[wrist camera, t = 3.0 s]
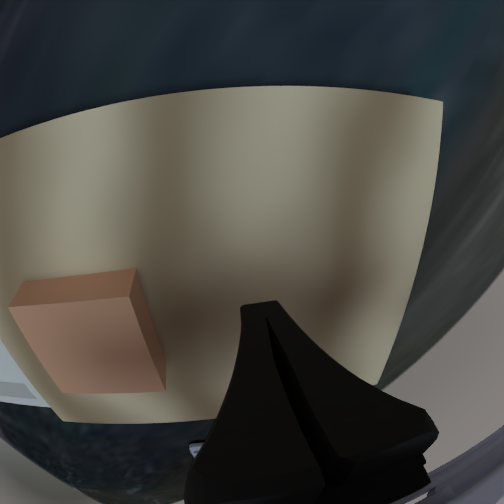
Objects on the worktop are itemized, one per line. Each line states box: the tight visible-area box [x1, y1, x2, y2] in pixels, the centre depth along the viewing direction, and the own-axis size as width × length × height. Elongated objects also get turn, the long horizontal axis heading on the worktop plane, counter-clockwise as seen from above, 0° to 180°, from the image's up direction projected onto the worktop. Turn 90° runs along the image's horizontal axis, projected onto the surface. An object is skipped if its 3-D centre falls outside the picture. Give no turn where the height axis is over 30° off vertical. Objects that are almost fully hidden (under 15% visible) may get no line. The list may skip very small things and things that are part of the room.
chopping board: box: [0, 86, 443, 424], centre depth 12 cm, size 20×16×2 cm
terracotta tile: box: [8, 268, 166, 394], centre depth 10 cm, size 5×5×2 cm
